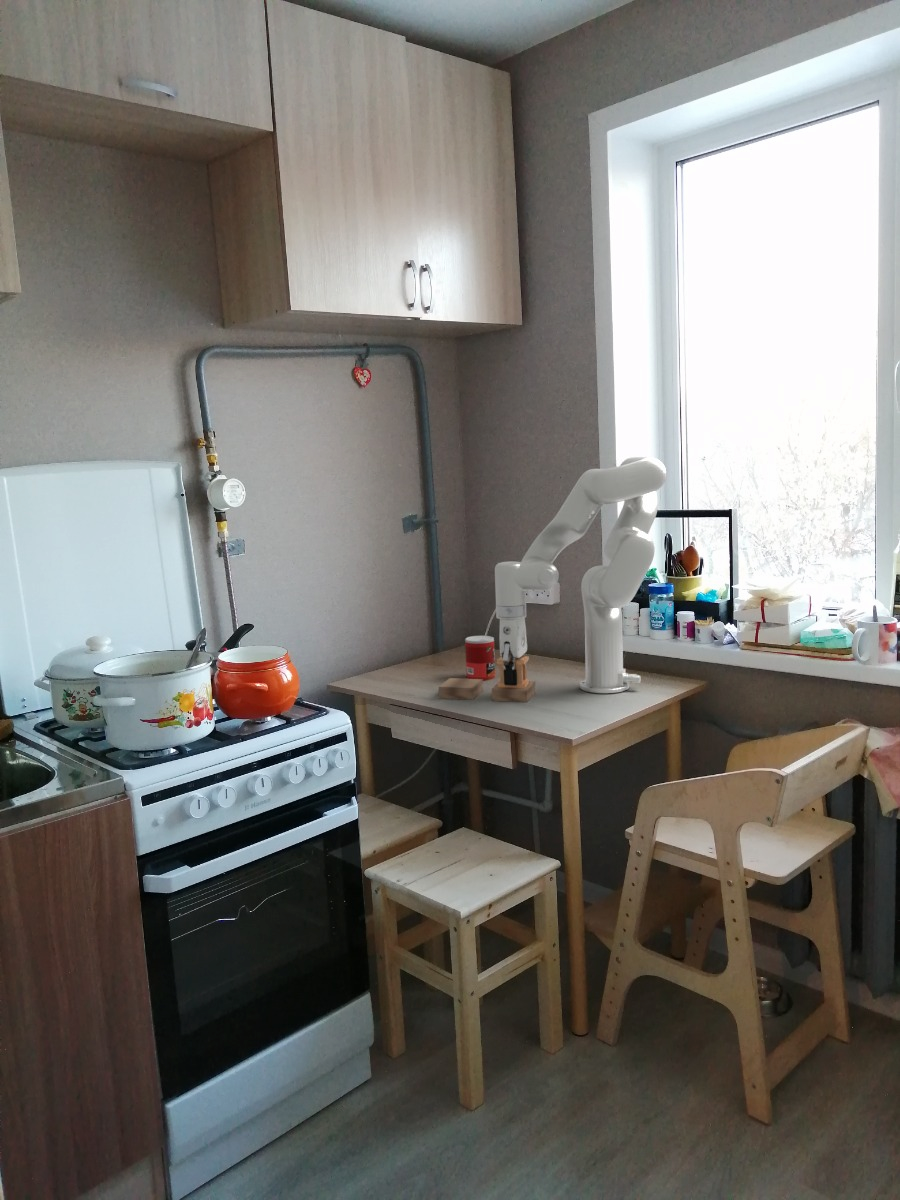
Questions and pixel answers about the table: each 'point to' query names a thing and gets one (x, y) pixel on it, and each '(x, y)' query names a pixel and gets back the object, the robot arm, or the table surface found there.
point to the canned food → (480, 657)
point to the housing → (521, 672)
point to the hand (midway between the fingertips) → (513, 681)
